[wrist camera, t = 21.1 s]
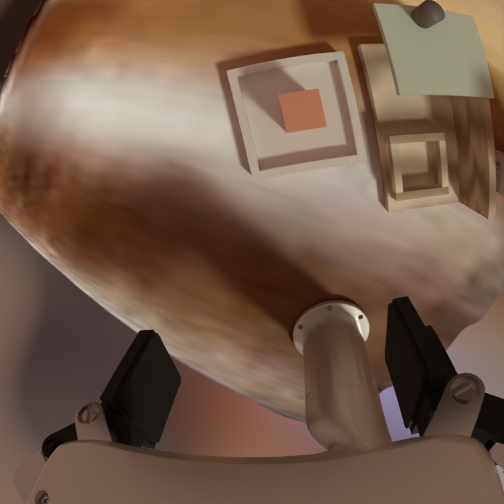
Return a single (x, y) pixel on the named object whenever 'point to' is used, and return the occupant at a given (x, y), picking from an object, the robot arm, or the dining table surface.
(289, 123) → the block
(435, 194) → the small wooden cabinet
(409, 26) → the lid
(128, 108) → the dining table surface
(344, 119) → the tray
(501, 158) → the cracker box
